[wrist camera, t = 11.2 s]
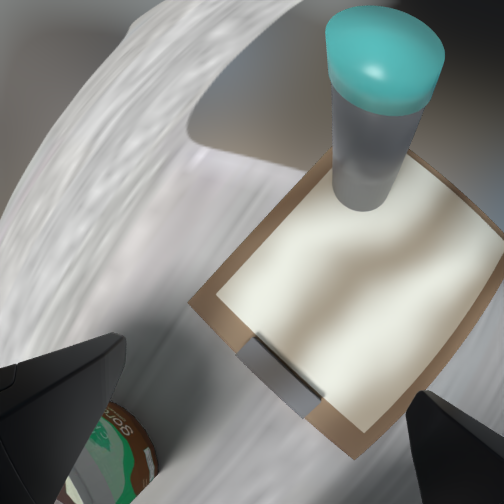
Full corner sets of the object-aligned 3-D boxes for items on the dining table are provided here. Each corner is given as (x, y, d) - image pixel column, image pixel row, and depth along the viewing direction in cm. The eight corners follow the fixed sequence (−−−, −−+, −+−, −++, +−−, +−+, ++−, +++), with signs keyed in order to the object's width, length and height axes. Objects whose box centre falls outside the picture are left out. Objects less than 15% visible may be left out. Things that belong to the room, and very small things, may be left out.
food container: (185, 418, 21) (101, 465, 11) (174, 481, 20) (101, 540, 10) (66, 365, 24) (-23, 369, 14) (62, 422, 23) (-19, 440, 13)
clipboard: (515, 251, 18) (524, 246, 16) (353, 456, 17) (355, 465, 16) (360, 119, 22) (361, 109, 21) (190, 303, 22) (182, 301, 21)
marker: (401, 182, 20) (461, 44, 7) (366, 225, 20) (412, 102, 7) (354, 146, 21) (365, -6, 9) (318, 186, 21) (300, 40, 9)
